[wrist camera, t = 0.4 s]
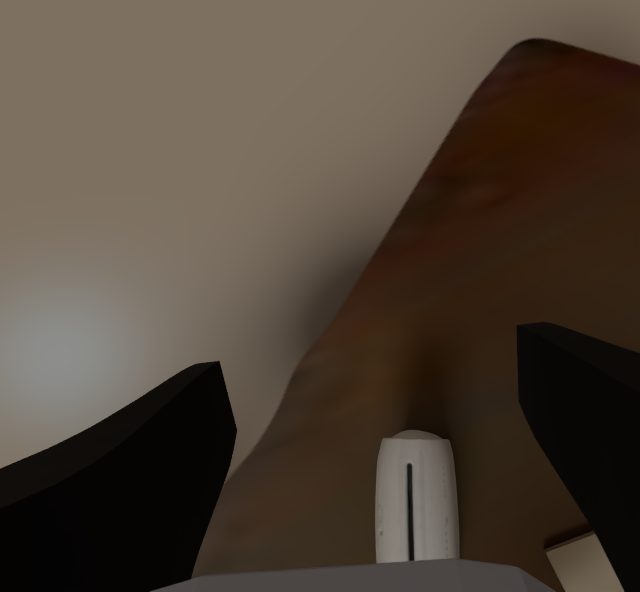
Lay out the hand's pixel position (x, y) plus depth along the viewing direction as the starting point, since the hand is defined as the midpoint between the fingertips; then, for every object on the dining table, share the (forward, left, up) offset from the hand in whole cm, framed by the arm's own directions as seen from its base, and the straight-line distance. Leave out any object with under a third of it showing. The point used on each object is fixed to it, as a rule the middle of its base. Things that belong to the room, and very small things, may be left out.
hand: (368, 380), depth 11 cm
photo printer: (-5, +3, -27) cm, 28 cm away
